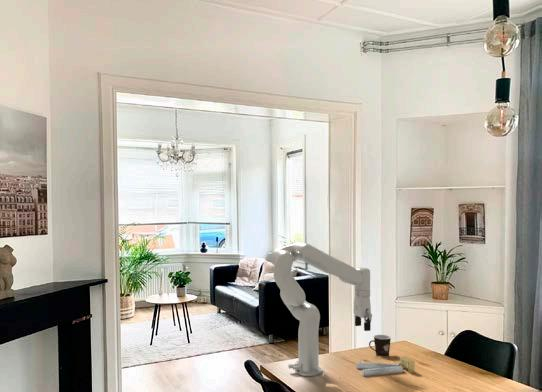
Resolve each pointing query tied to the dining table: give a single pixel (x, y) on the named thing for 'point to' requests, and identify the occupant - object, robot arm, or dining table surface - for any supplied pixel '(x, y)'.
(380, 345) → the coffee mug
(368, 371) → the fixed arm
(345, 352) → the dining table surface
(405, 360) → the beige textured block
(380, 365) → the grey rod
